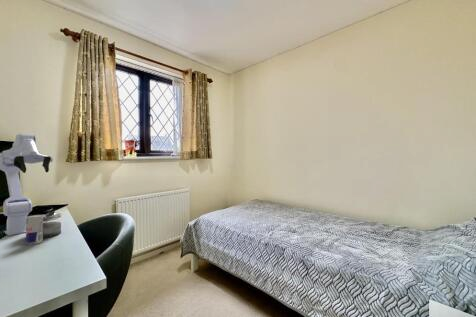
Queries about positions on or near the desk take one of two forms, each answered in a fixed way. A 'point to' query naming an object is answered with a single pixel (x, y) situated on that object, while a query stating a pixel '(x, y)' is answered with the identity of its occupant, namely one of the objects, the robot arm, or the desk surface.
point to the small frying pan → (49, 216)
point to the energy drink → (34, 230)
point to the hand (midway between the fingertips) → (36, 170)
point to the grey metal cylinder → (51, 229)
